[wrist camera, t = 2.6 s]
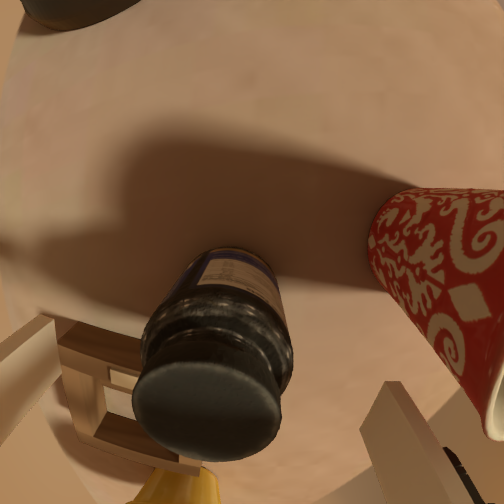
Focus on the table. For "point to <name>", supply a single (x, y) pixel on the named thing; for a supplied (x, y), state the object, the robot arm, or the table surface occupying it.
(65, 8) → the robot arm
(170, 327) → the pill bottle
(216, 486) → the plant pot
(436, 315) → the mug
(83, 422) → the wooden tray
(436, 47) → the table surface
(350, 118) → the table surface
